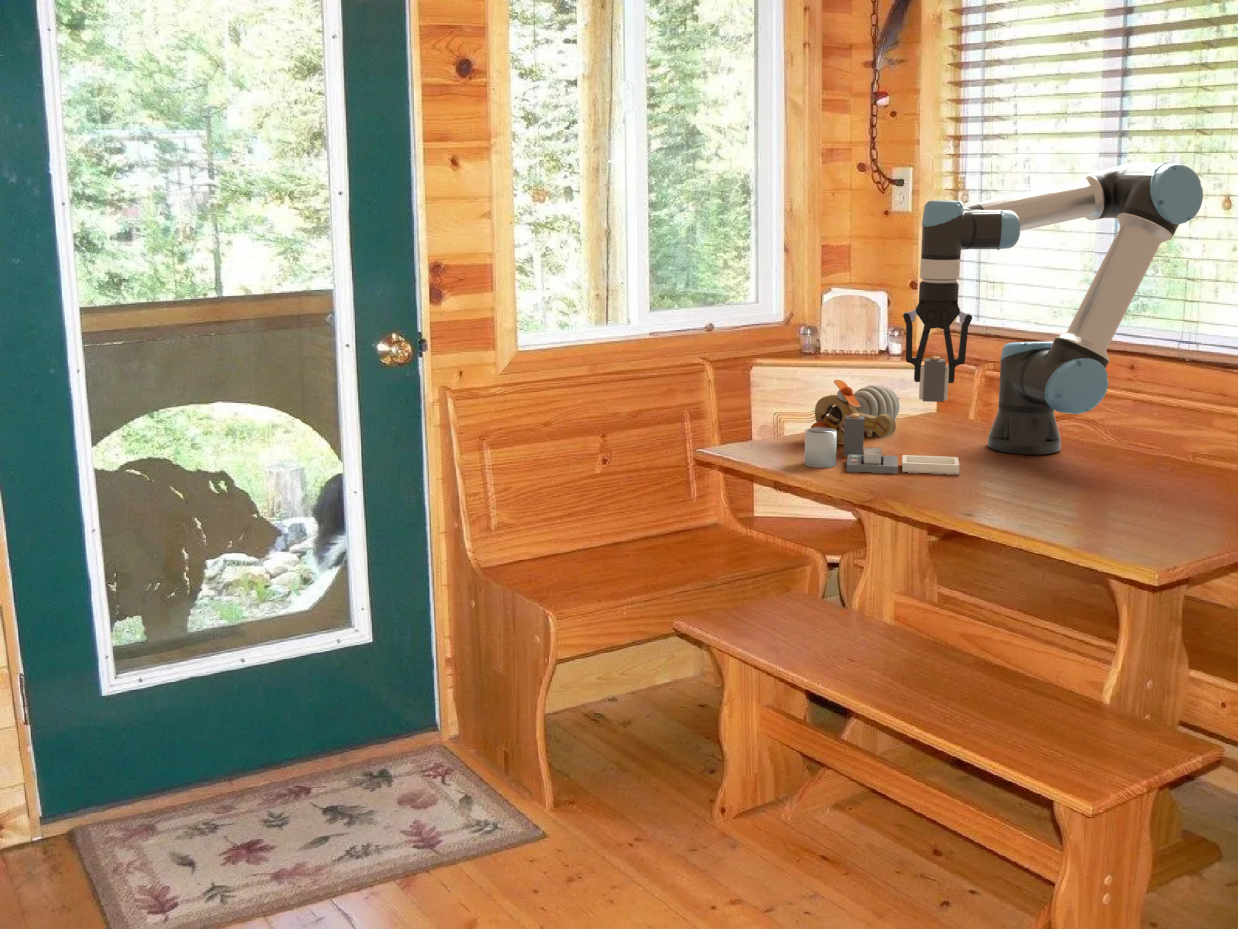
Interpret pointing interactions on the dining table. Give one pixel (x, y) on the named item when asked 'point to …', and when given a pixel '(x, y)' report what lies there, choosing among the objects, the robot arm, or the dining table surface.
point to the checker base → (888, 465)
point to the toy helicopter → (846, 406)
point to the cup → (820, 447)
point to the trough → (930, 464)
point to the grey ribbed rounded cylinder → (877, 402)
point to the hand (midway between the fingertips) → (933, 398)
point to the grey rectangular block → (872, 456)
